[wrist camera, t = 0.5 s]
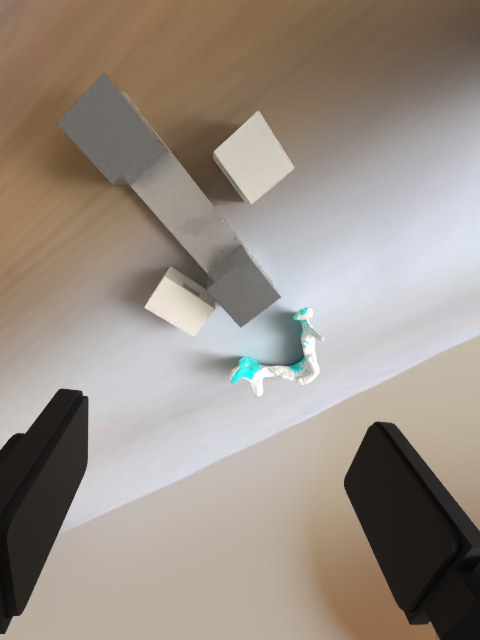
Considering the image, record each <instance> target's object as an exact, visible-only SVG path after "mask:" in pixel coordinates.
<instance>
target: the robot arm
mask: <svg viewBox="0 0 480 640" xmlns="http://www.w3.org/2000/svg"><path fill="white" fill-rule="evenodd" d="M87 462H88V397H87V396H83V393H82V391H80V390H70V389H59V390H58V391H57V393H56V394H55V395H54V397H53V398H52V399H51V401H50V402H49V403H48V405H47V406H46V407H45V408H44V410H43V411H42V412H41V414H40V415H39V416H38V418H37V419H36V420H35V422H34V423H33V424H32V426H31V427H30V428H29V430H28V431H27V432H26V434H24V433H17V434H15V435H13V436H12V437H11V438H10V439H9V440H8V441H7V443H6V444H5V445H4V446H3V448H2V449H1V450H0V634H5V632H6V630H7V628H8V626H9V624H10V621H11V619H12V617H13V616H20V615H21V614H22V612H23V611H24V609H25V607H26V605H27V603H28V600H29V598H30V596H31V594H32V591H33V589H34V587H35V585H36V582H37V580H38V578H39V575H40V573H41V571H42V569H43V567H44V564H45V562H46V560H47V557H48V555H49V553H50V551H51V548H52V546H53V544H54V542H55V539H56V537H57V535H58V533H59V530H60V528H61V526H62V523H63V521H64V519H65V517H66V514H67V512H68V510H69V508H70V505H71V503H72V501H73V499H74V496H75V494H76V492H77V489H78V487H79V485H80V483H81V480H82V478H83V476H84V473H85V471H86V467H87ZM344 487H345V490H346V493H347V495H348V497H349V499H350V501H351V504H352V506H353V508H354V510H355V513H356V515H357V517H358V519H359V521H360V523H361V525H362V528H363V530H364V532H365V535H366V537H367V539H368V541H369V543H370V546H371V548H372V550H373V552H374V555H375V557H376V559H377V561H378V563H379V566H380V568H381V570H382V572H383V575H384V577H385V579H386V581H387V583H388V585H389V588H390V590H391V592H392V594H393V597H394V599H395V601H396V603H397V604H398V606H399V607H400V609H402V610H403V611H404V612H405V615H406V617H407V619H408V621H409V624H410V625H422V624H428V623H429V621H431V623H432V625H433V627H434V629H435V640H480V531H479V530H478V529H477V527H476V526H475V525H474V524H473V522H472V521H471V520H470V518H469V517H468V516H467V515H466V513H465V512H464V511H463V510H462V508H461V507H460V506H459V505H458V503H457V502H456V501H455V500H454V498H453V497H452V496H451V494H450V493H449V492H448V491H447V489H446V488H445V487H444V486H443V485H442V483H441V482H440V481H439V479H438V478H437V477H436V476H435V474H434V473H433V472H432V470H431V469H430V468H429V467H428V465H427V464H426V463H425V462H424V460H423V459H422V458H421V457H420V455H419V454H418V453H417V452H416V450H415V449H414V448H413V447H412V445H411V444H410V443H409V441H408V440H407V439H406V438H405V436H404V435H403V434H402V433H401V431H400V430H399V429H398V428H397V426H396V425H395V424H393V423H387V422H375V423H374V424H373V425H371V426H370V427H369V428H368V430H367V432H366V434H365V436H364V439H363V441H362V443H361V445H360V447H359V449H358V451H357V453H356V455H355V457H354V460H353V462H352V464H351V466H350V468H349V470H348V472H347V474H346V476H345V479H344Z"/></svg>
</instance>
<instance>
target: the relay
mask: <svg viewBox="0 0 480 640" xmlns="http://www.w3.org/2000/svg"><path fill="white" fill-rule="evenodd" d="M144 308H146V309H147V310H149V311H151V312H152V313H154V314H156V315H157V316H159V317H161V318H163V319H164V320H166V321H168V322H169V323H171V324H173V325H174V326H176V327H178V328H179V329H181V330H183V331H184V332H186V333H188V334H190V335H191V336H193V337H194V336H195V335H196V334H197V332H198V331H199V330H200V328H201V327H202V326H203V324H204V323H205V322H206V320H207V319H208V317H209V316H210V315H211V313H212V312H213V311H214V309H215V299H214V297H213V296H212V295H211V294H210V293H209V292H208V291H207V290H206V289H205V288H203V287H202V286H200V285H199V284H197V283H196V282H194V281H193V280H191V279H190V278H188V277H186V276H185V275H183V274H182V273H180V272H179V271H177V270H176V269H174V268H173V267H171V266H170V267H169V269H168V270H167V272H166V273H165V275H164V276H163V278H162V279H161V281H160V282H159V284H158V285H157V287H156V289H155V290H154V292H153V293H152V295H151V296H150V298H149V300H148V302H147V303H146V305H145V307H144Z"/></svg>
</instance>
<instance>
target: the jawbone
mask: <svg viewBox="0 0 480 640" xmlns="http://www.w3.org/2000/svg"><path fill="white" fill-rule="evenodd" d="M312 316H313V311H312V310H311V309H310V308H303V309H300V310H299V311H297V312H296V314H295V315H294V317H293V319H294V320H299V321H300V323H301V325H302V330H303V332H302V334H301V342H302V347H303V348H304V349H303V352H304V355H305V356H304V358H303V359H302V361H300V362H299V363H296V364H295V365H291V366H264V365H260V364H257V360H254V359H251V358H249V357H247V358H246V357H242V358H241V359H240V360H239V365H238V367H235V368H233V369H232V371H231V372H230V374H229V377H228V381H229V382H231V383H235V382H236V381H237V380H238V379H239V378H244V379H246V380H247V381H248V382H250V384H251V388H252V389H253V392H254V394H255V396H261V395H262V393H263V385H262V381H263V379H264V378H265V377H281V378H284V379H288V380H290V381H291V380H292V381H293V382H298V384H299V385H303V384H307V383H310V382H311V381H312V380H313V379H314V378H316V376H318V374H319V366H318V364H317V362H316V354H315V339H316V340H318V341H320V342H323V341H324V339H323V337H322V336H321V335H319V333H318V332H317V331H316V330H315V329H314V328H313V327H312V325H311V324H310V322H309V320H308V318H311V317H312Z"/></svg>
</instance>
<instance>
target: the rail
mask: <svg viewBox="0 0 480 640" xmlns="http://www.w3.org/2000/svg"><path fill="white" fill-rule="evenodd" d="M57 124H58V125H59V126H60V128H61V129H62V130H63V131H64V132H65V133H66V134H67V135H68V136H69V138H70V139H71V140H72V141H73V142H74V143H75V144H76V145H77V146H78V148H79V149H80V150H81V151H82V152H83V153H84V154H85V155H86V156H87V158H88V159H89V160H90V161H91V162H92V163H93V164H94V165H95V166H96V168H97V169H98V170H99V171H100V172H101V173H102V174H103V175H104V176H105V178H106V179H107V180H108V181H109V182H110V183H111V184H112V185H130V186H131V187H132V189H133V190H134V191H135V192H136V193H137V194H138V195H139V197H140V198H141V199H142V200H143V201H144V202H145V203H146V205H147V206H148V207H149V208H150V209H151V210H152V211H153V212H154V214H155V215H156V216H157V217H158V218H159V219H160V220H161V222H162V223H163V224H164V225H165V226H166V227H167V228H168V230H169V231H170V232H171V233H172V234H173V235H174V236H175V238H176V239H177V240H178V241H179V242H180V243H181V244H182V246H183V247H184V248H185V249H186V250H187V251H188V252H189V254H190V255H191V256H192V257H193V258H194V259H195V260H196V262H197V263H198V264H199V265H200V266H201V267H202V268H203V270H204V271H205V272H206V273H207V291H208V292H209V293H210V294H211V295H212V296H213V297H214V299H215V300H216V301H217V302H218V303H219V304H220V305H221V306H222V307H223V309H224V310H225V311H226V312H227V313H228V314H229V315H230V316H231V317H232V319H233V320H234V321H235V322H236V323H237V324H238V325H239V326H240V327H242V326H244V325H245V324H246V323H248V322H249V321H250V320H252V319H253V318H254V317H256V316H257V315H258V314H260V313H261V312H262V311H264V310H265V309H266V308H267V307H269V306H270V305H271V304H273V303H274V302H275V301H277V300H278V299H279V298H281V297H280V295H279V294H278V292H277V291H276V289H275V287H274V286H273V284H272V280H271V279H270V277H269V276H268V275H267V274H266V272H265V271H264V270H263V269H262V267H261V266H260V265H259V263H258V262H257V261H256V260H255V258H254V257H253V256H252V254H251V253H250V252H249V251H248V249H247V248H246V247H245V245H244V244H243V243H242V242H241V240H240V239H239V238H238V236H237V235H236V234H235V233H234V231H233V230H232V229H231V227H230V226H229V225H228V224H227V222H226V221H225V220H224V218H223V217H222V216H221V215H220V213H219V212H218V211H217V209H216V208H215V207H214V206H213V204H212V203H211V202H210V200H209V199H208V198H207V197H206V195H205V194H204V193H203V191H202V190H201V189H200V188H199V186H198V185H197V184H196V182H195V181H194V180H193V179H192V177H191V176H190V175H189V173H188V172H187V171H186V170H185V168H184V167H183V166H182V164H181V163H180V162H179V161H178V159H177V158H176V157H175V155H174V154H173V153H172V152H171V150H170V149H169V148H168V146H167V145H166V144H165V143H164V141H163V140H162V139H161V137H160V136H159V135H158V134H157V132H156V131H155V130H154V128H153V127H152V126H151V125H150V123H149V122H148V121H147V119H146V118H145V117H144V116H143V114H142V113H141V112H140V110H139V109H138V108H137V107H136V105H135V104H134V103H133V101H132V100H131V99H130V98H129V96H128V95H127V94H126V93H125V92H124V91H123V92H122V91H121V90H120V89H119V88H118V87H117V86H116V85H115V84H114V83H113V81H112V80H111V79H110V78H109V77H108V76H107V75H106V74H105V73H103V74H102V76H101V77H100V78H99V79H98V80H97V81H96V82H95V83H94V84H93V85H92V86H91V87H90V89H89V90H88V91H87V92H86V93H85V94H84V95H83V96H82V97H81V98H80V99H79V100H78V102H77V103H76V104H75V105H74V106H73V107H72V108H71V109H70V110H69V111H68V112H67V113H66V114H65V116H64V117H63V118H62V119H61V120H60V121H59V122H58V123H57Z"/></svg>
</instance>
